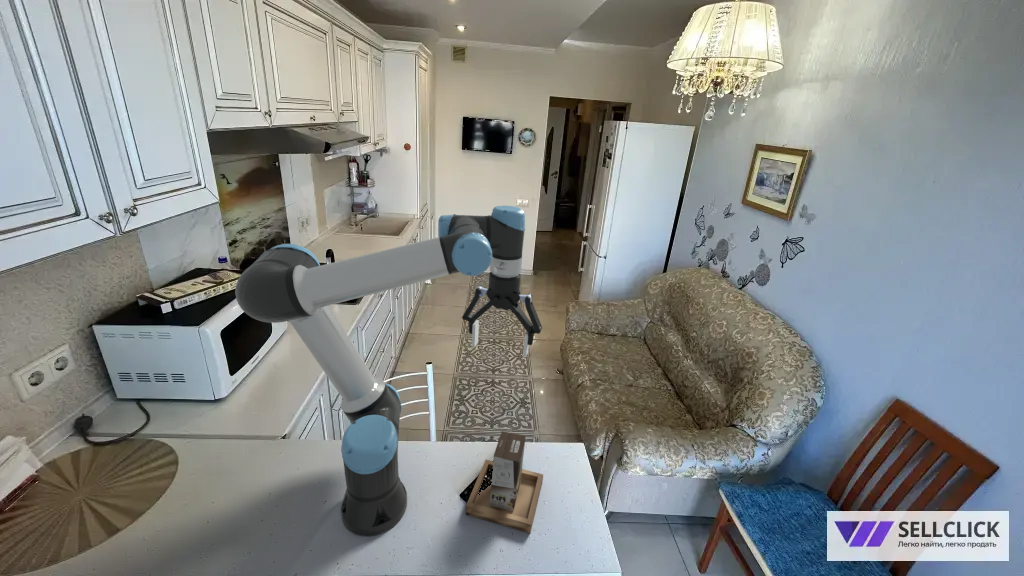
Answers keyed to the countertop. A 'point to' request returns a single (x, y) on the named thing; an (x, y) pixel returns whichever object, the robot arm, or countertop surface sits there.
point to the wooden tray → (512, 519)
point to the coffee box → (507, 470)
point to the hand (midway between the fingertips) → (499, 349)
